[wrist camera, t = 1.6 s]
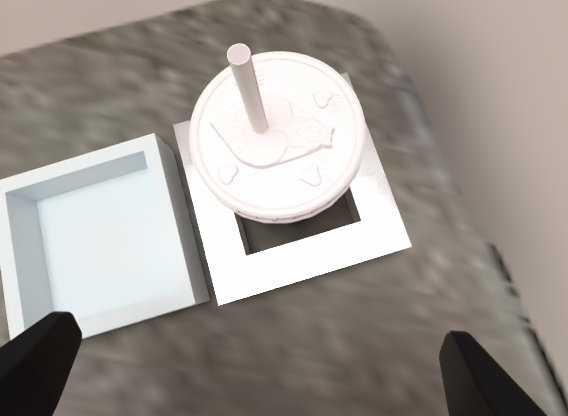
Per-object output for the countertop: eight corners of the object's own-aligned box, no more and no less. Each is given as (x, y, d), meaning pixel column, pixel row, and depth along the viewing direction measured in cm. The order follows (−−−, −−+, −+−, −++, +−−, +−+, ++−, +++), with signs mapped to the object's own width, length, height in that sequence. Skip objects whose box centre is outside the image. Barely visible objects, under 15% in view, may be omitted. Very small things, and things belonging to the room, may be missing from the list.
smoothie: (245, 137, 23) (160, -67, 9) (347, 150, 23) (412, -48, 9) (227, 237, 22) (100, 168, 8) (334, 253, 21) (386, 207, 8)
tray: (210, 300, 21) (195, 303, 18) (53, 348, 21) (13, 359, 18) (173, 151, 23) (154, 133, 20) (29, 195, 23) (-11, 183, 20)
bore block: (399, 250, 21) (411, 246, 19) (228, 302, 21) (218, 305, 19) (342, 94, 23) (347, 72, 21) (187, 141, 23) (173, 125, 21)
